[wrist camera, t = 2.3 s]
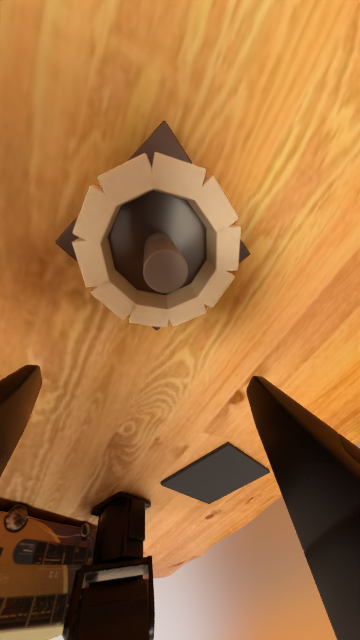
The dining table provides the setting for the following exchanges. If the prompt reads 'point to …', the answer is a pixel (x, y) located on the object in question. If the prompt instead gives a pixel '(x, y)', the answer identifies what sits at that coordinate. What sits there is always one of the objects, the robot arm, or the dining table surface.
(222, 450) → the rubber mat
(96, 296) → the beige segmented ring
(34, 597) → the toy bus
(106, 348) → the dining table surface
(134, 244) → the stand
